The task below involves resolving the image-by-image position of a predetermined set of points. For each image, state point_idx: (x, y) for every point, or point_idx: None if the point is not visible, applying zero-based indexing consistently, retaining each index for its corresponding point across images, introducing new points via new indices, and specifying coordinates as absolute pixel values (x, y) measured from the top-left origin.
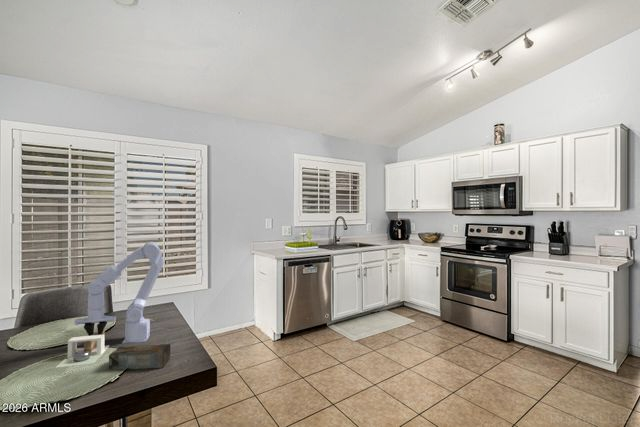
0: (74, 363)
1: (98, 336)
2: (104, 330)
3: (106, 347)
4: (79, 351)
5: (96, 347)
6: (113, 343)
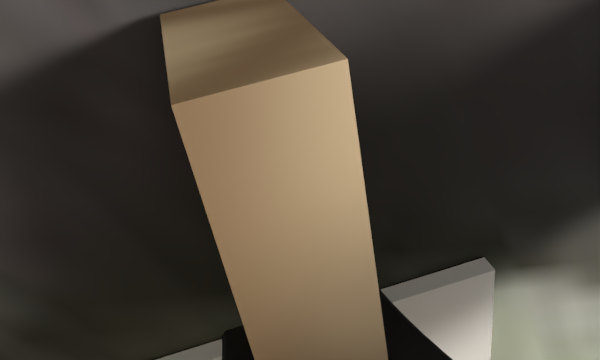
0: None
1: None
2: (329, 51)
3: (475, 329)
4: None
5: None
6: (497, 160)
